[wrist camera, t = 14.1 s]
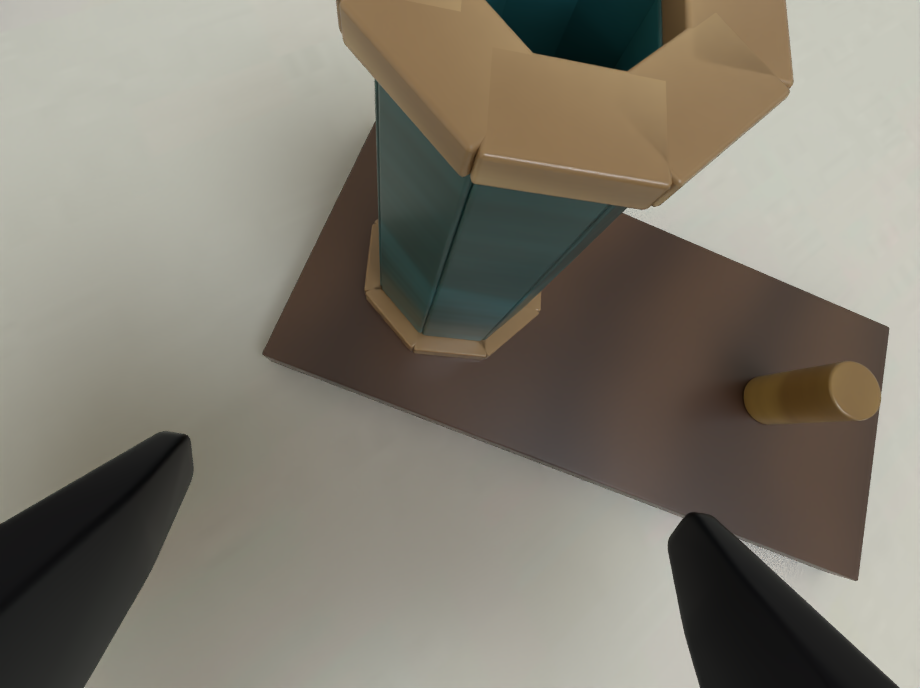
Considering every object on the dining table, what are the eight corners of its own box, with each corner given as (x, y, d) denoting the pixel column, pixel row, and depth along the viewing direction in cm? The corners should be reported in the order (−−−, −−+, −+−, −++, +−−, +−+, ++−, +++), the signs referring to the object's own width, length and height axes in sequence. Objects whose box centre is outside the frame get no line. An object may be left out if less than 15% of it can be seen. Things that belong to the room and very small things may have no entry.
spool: (569, 287, 17) (876, 31, 6) (445, 393, 16) (577, 287, 5) (463, 166, 17) (587, -270, 7) (331, 258, 16) (223, -117, 5)
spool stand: (861, 333, 20) (1000, 301, 16) (827, 572, 18) (981, 618, 13) (381, 129, 18) (380, 27, 14) (269, 360, 16) (224, 328, 11)
